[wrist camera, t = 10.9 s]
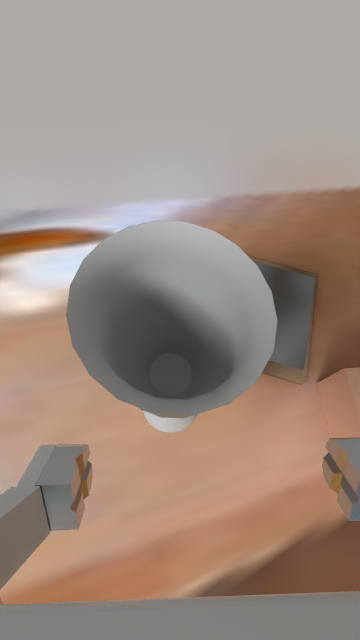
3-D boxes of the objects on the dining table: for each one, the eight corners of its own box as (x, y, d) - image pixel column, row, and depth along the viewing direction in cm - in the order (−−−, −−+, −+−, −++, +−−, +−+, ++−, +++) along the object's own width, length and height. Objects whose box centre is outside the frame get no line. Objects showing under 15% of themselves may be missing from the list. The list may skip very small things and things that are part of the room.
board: (98, 324, 29) (94, 317, 28) (140, 234, 34) (139, 224, 33) (301, 384, 27) (308, 380, 26) (313, 279, 32) (320, 271, 31)
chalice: (118, 382, 27) (38, 258, 10) (185, 350, 28) (206, 198, 12) (153, 462, 24) (118, 464, 8) (224, 422, 25) (322, 352, 9)
